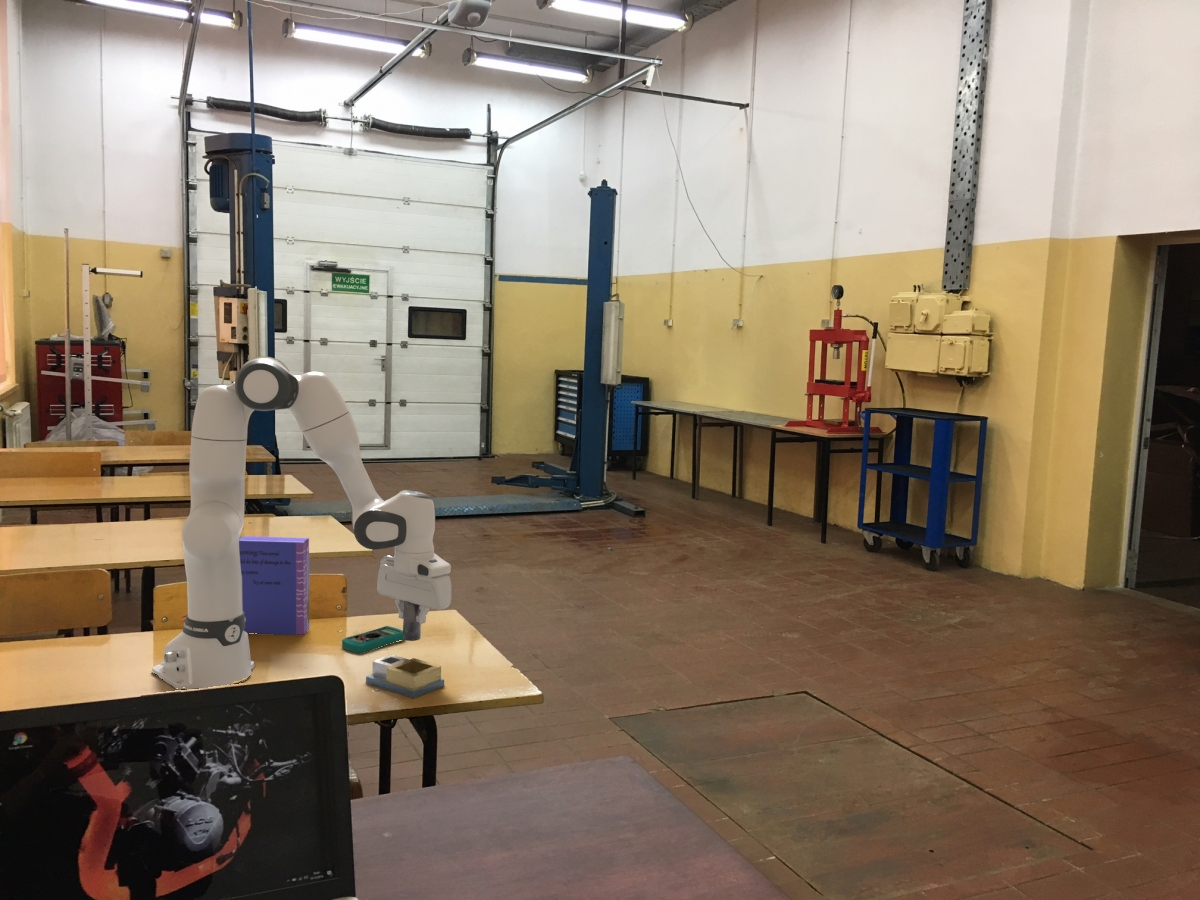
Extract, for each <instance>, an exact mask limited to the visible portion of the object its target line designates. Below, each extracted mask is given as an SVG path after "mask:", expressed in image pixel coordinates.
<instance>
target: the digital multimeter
mask: <svg viewBox="0 0 1200 900" xmlns="http://www.w3.org/2000/svg"><path fill="white" fill-rule="evenodd" d="M399 640H404V639H403V629H399V628H397V627H393V626H389V625H385V626H382V627H379V628H375V629H373V630H369V631H365V632H362V633H359V634H355V635H351V636H347V637H345V638H342V641H341V647H342V648H343V649H344V648H345V649H344V650H346V649H347V650H346V651H349V652H352V653H358V654H365V653H367V651H368V652H370V650H371V651H373V649H374V650H377V649H379V648H378V647H380V648H382V647H381V646H383V647H385V646H384V645H386V644H390V643H393V642H396V641H399ZM404 641H405V640H404ZM393 644H394V643H393ZM390 645H391V644H390ZM376 648H377V649H376ZM364 652H365V653H364Z"/></svg>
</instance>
